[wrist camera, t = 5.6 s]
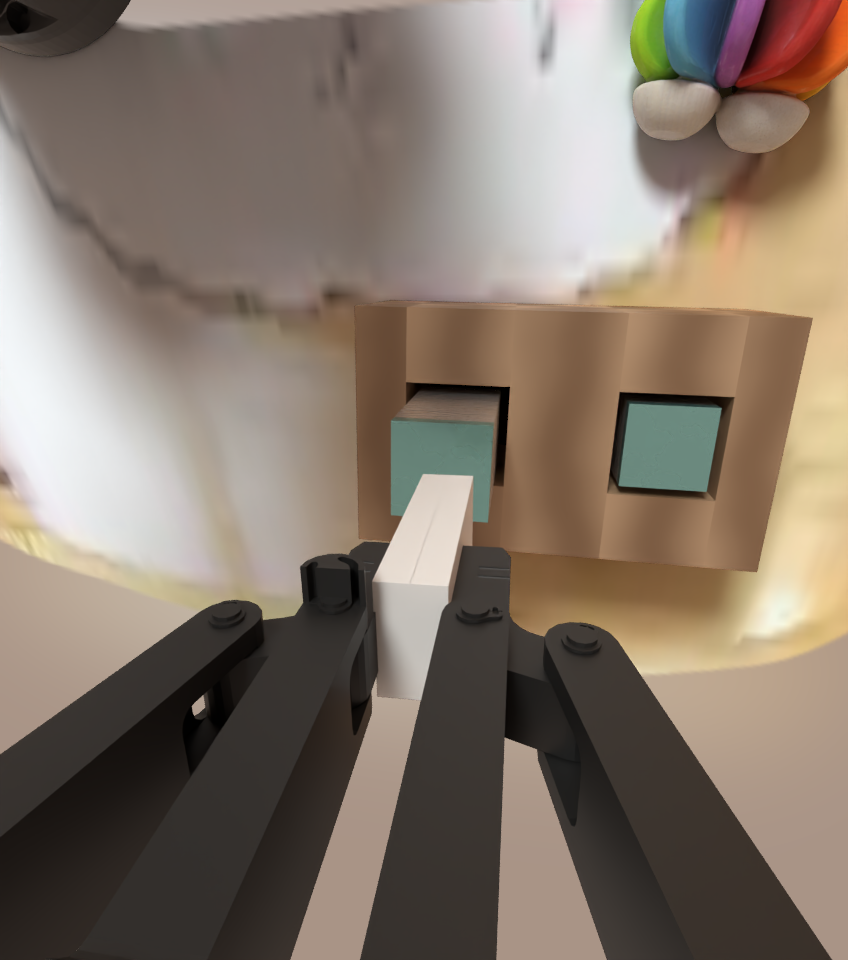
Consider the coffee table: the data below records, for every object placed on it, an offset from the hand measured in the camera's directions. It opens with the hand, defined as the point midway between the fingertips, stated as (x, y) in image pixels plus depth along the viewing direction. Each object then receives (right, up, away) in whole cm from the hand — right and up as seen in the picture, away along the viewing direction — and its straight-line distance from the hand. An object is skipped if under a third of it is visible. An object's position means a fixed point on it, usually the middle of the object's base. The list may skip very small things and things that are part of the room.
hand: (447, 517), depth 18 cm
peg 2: (+12, +5, +17) cm, 22 cm away
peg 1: (+1, +4, +13) cm, 14 cm away
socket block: (+7, +5, +18) cm, 20 cm away
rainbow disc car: (+14, +22, +12) cm, 29 cm away
